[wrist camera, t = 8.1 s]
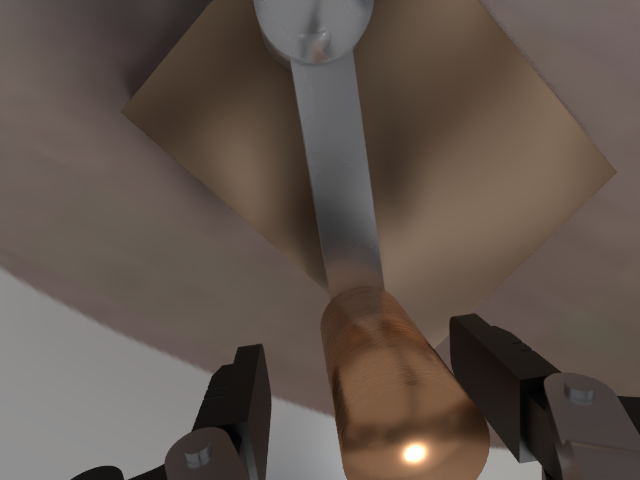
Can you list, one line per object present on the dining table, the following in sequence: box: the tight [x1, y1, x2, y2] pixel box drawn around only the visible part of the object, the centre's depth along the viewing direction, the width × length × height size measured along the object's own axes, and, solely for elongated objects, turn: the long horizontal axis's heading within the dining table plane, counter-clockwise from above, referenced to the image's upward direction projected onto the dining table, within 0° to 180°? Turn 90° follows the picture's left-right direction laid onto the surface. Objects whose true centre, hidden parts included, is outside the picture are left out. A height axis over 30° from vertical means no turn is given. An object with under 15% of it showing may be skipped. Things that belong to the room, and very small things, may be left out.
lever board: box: [121, 0, 617, 349], centre depth 15 cm, size 16×12×2 cm
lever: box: [253, 0, 490, 480], centre depth 10 cm, size 14×4×8 cm, turn 9°
